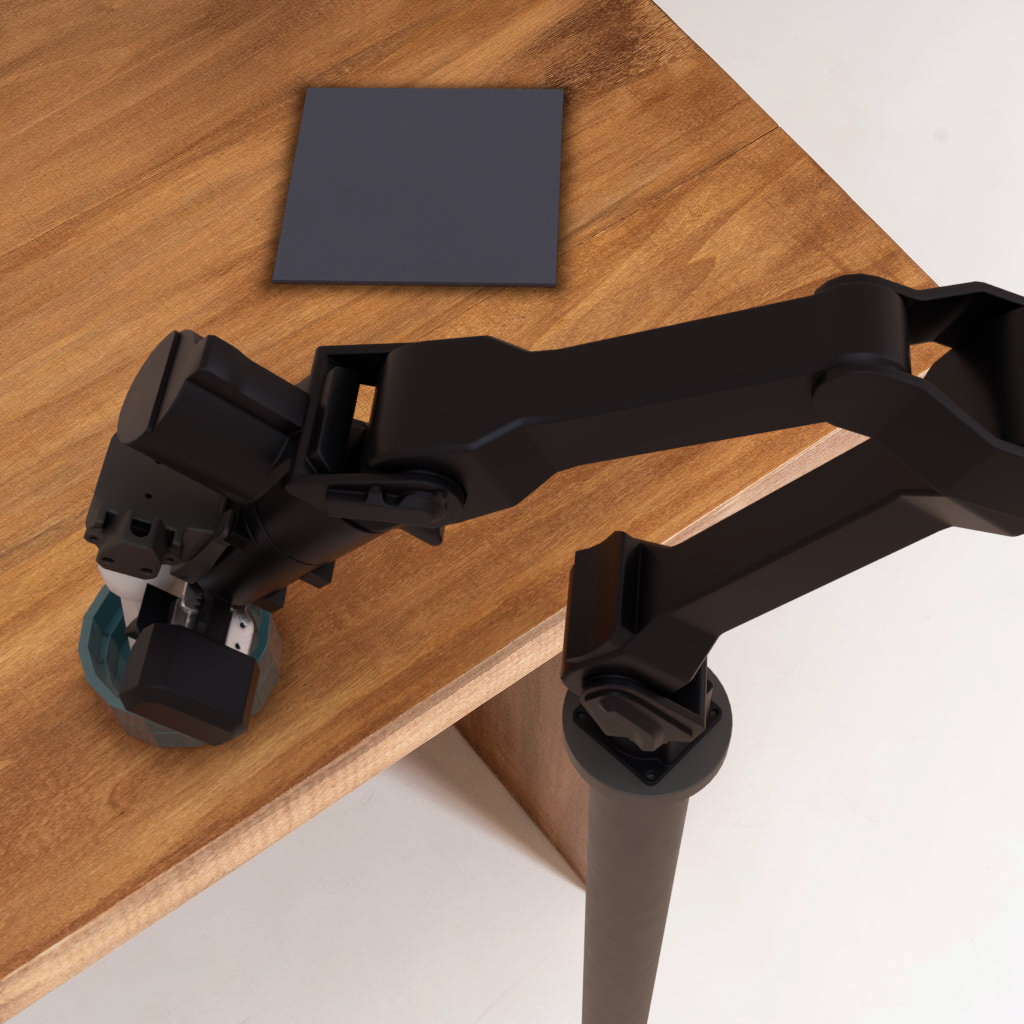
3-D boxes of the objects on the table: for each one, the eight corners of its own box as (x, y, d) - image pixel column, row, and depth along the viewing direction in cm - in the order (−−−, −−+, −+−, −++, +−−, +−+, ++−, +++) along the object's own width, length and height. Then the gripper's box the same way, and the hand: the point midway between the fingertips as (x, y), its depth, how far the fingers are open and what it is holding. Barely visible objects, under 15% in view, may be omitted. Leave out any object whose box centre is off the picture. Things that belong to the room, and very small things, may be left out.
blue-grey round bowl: (320, 663, 85) (308, 627, 81) (176, 787, 81) (157, 755, 77) (206, 556, 89) (190, 517, 86) (64, 668, 85) (41, 633, 82)
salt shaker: (260, 648, 85) (214, 531, 74) (199, 724, 82) (141, 615, 72) (184, 603, 87) (128, 483, 76) (122, 676, 84) (54, 563, 73)
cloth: (563, 92, 111) (563, 88, 111) (555, 287, 100) (555, 283, 100) (307, 91, 112) (307, 87, 112) (272, 283, 102) (271, 279, 101)
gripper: (204, 277, 70) (54, 403, 80) (109, 613, 60) (-49, 707, 70) (383, 386, 76) (222, 490, 86) (323, 708, 66) (148, 782, 76)
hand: (140, 606), depth 79 cm, fingers closed on salt shaker, 3 cm apart
